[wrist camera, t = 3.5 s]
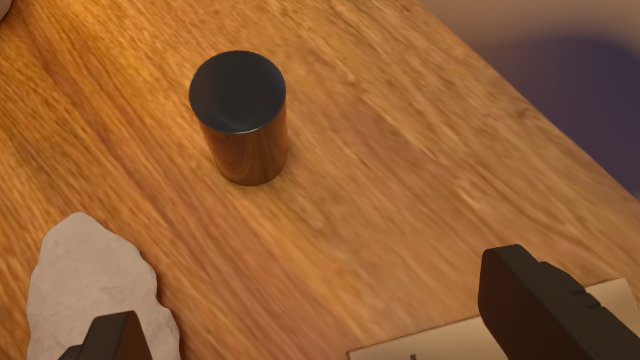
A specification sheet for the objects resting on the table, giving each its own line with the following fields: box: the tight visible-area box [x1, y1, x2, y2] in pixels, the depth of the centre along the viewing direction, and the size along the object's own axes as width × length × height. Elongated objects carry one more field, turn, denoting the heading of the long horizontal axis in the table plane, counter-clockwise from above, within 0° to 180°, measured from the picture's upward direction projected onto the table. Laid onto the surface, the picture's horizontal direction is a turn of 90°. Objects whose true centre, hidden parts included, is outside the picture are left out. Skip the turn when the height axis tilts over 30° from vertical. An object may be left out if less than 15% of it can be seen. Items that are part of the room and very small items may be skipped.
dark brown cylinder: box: [189, 50, 287, 186], centre depth 26 cm, size 5×5×8 cm
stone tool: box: [25, 212, 181, 360], centre depth 24 cm, size 8×3×15 cm
